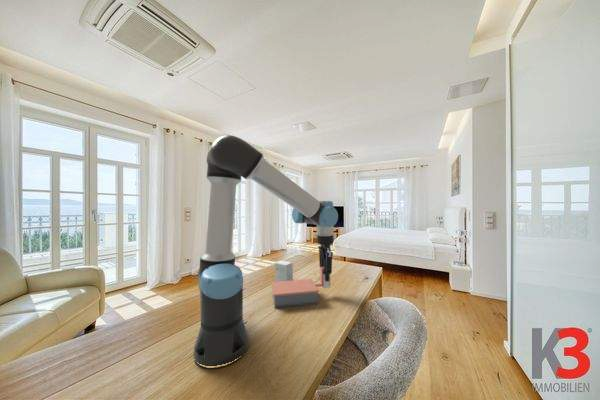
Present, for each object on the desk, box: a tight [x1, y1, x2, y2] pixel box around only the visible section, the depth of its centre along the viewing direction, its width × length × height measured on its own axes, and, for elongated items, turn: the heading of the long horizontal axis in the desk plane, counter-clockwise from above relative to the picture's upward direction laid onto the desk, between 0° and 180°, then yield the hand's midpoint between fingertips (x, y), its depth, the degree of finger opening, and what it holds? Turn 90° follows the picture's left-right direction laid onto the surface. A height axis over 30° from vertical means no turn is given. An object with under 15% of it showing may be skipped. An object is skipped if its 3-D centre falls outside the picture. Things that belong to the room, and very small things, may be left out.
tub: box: [272, 292, 318, 309], centre depth 92 cm, size 18×12×5 cm, turn 102°
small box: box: [274, 260, 294, 282], centre depth 112 cm, size 8×6×10 cm
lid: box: [271, 266, 324, 297], centre depth 93 cm, size 26×13×8 cm, turn 102°
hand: (325, 286), depth 95 cm, fingers closed on lid, 2 cm apart
